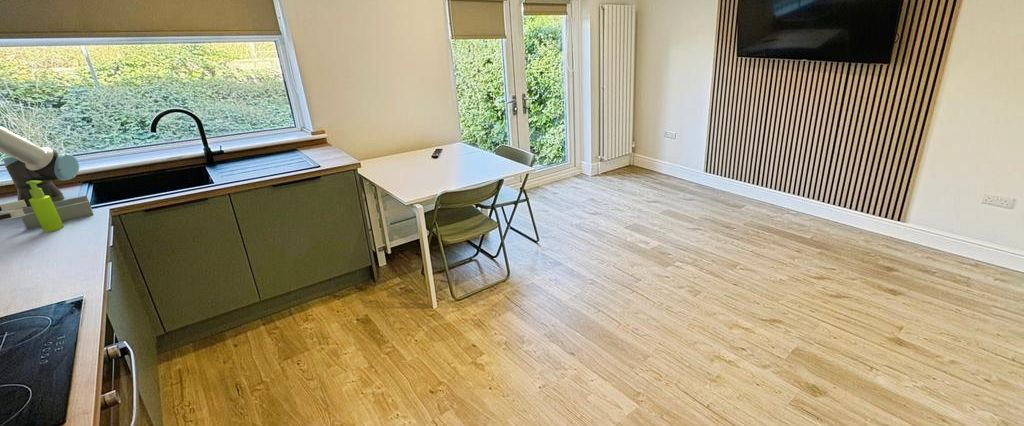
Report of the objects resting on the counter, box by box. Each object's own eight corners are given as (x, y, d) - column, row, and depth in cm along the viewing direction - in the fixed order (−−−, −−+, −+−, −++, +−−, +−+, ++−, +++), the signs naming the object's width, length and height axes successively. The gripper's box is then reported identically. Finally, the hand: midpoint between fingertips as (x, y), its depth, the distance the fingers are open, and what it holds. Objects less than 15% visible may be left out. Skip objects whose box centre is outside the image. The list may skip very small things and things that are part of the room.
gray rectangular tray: (28, 221, 187) (21, 208, 184) (91, 208, 199) (86, 195, 197) (27, 229, 179) (20, 216, 176) (93, 214, 191) (87, 201, 189)
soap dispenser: (53, 232, 175) (30, 183, 167) (39, 231, 176) (16, 183, 168) (70, 226, 180) (48, 178, 172) (56, 225, 181) (34, 178, 174)
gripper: (-50, 225, 167) (30, 208, 180) (-62, 245, 150) (27, 225, 163) (-61, 206, 164) (21, 190, 177) (-74, 224, 147) (17, 206, 160)
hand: (24, 207), depth 170 cm, fingers open, 13 cm apart
